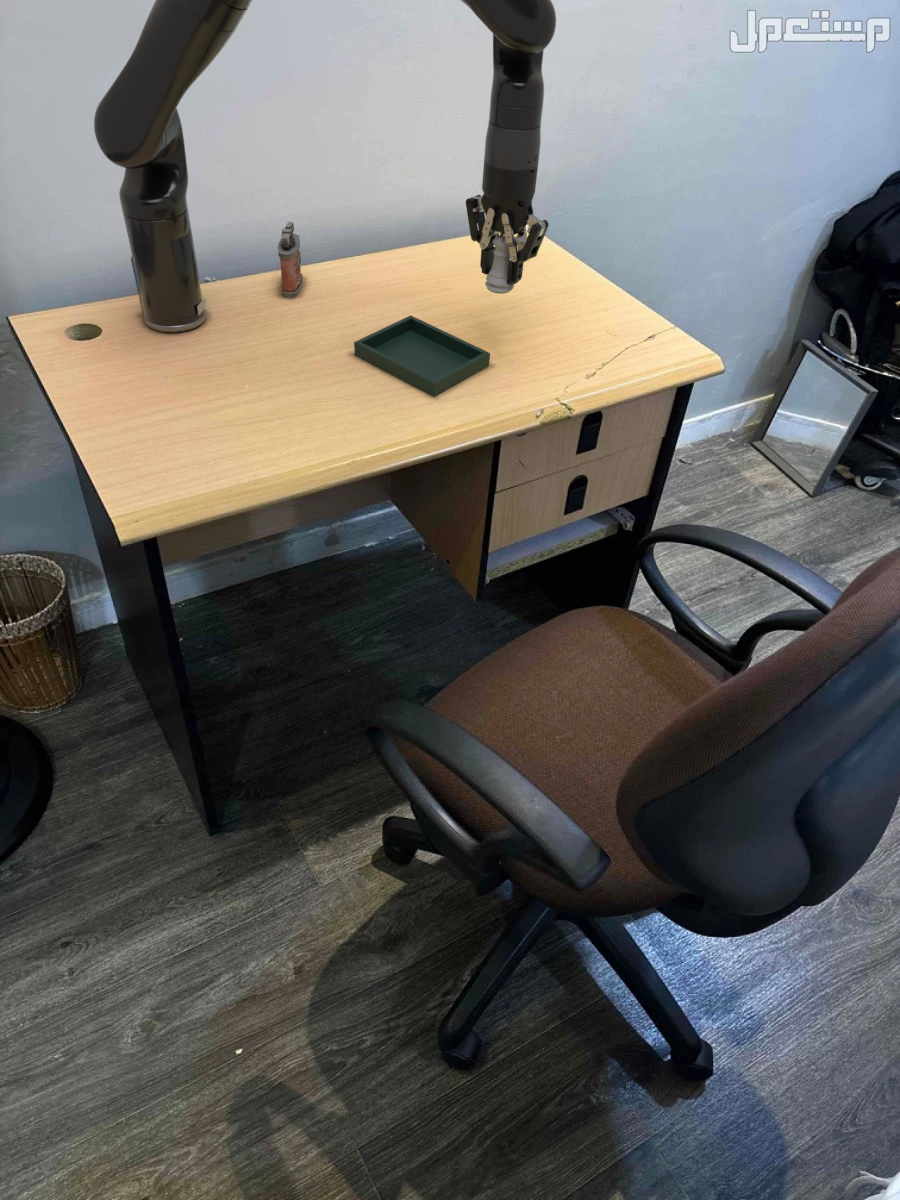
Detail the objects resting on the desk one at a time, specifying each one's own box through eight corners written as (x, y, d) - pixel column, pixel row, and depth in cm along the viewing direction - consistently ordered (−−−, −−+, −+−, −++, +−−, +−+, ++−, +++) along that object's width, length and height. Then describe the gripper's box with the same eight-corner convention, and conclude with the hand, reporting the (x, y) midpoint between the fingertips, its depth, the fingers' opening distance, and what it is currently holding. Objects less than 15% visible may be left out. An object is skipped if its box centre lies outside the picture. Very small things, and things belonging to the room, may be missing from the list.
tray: (354, 355, 135) (353, 342, 133) (410, 327, 142) (410, 314, 140) (434, 397, 127) (434, 383, 126) (489, 365, 134) (490, 353, 133)
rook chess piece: (519, 288, 134) (525, 236, 128) (500, 297, 131) (505, 244, 126) (497, 278, 136) (502, 226, 130) (478, 287, 133) (482, 234, 128)
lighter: (299, 298, 147) (294, 238, 140) (278, 297, 147) (273, 237, 140) (305, 277, 153) (301, 219, 145) (285, 276, 152) (280, 217, 145)
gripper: (454, 150, 121) (448, 270, 133) (536, 178, 115) (522, 302, 127) (489, 138, 126) (480, 255, 138) (569, 165, 119) (552, 286, 131)
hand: (500, 277), depth 132 cm, fingers closed on rook chess piece, 4 cm apart
